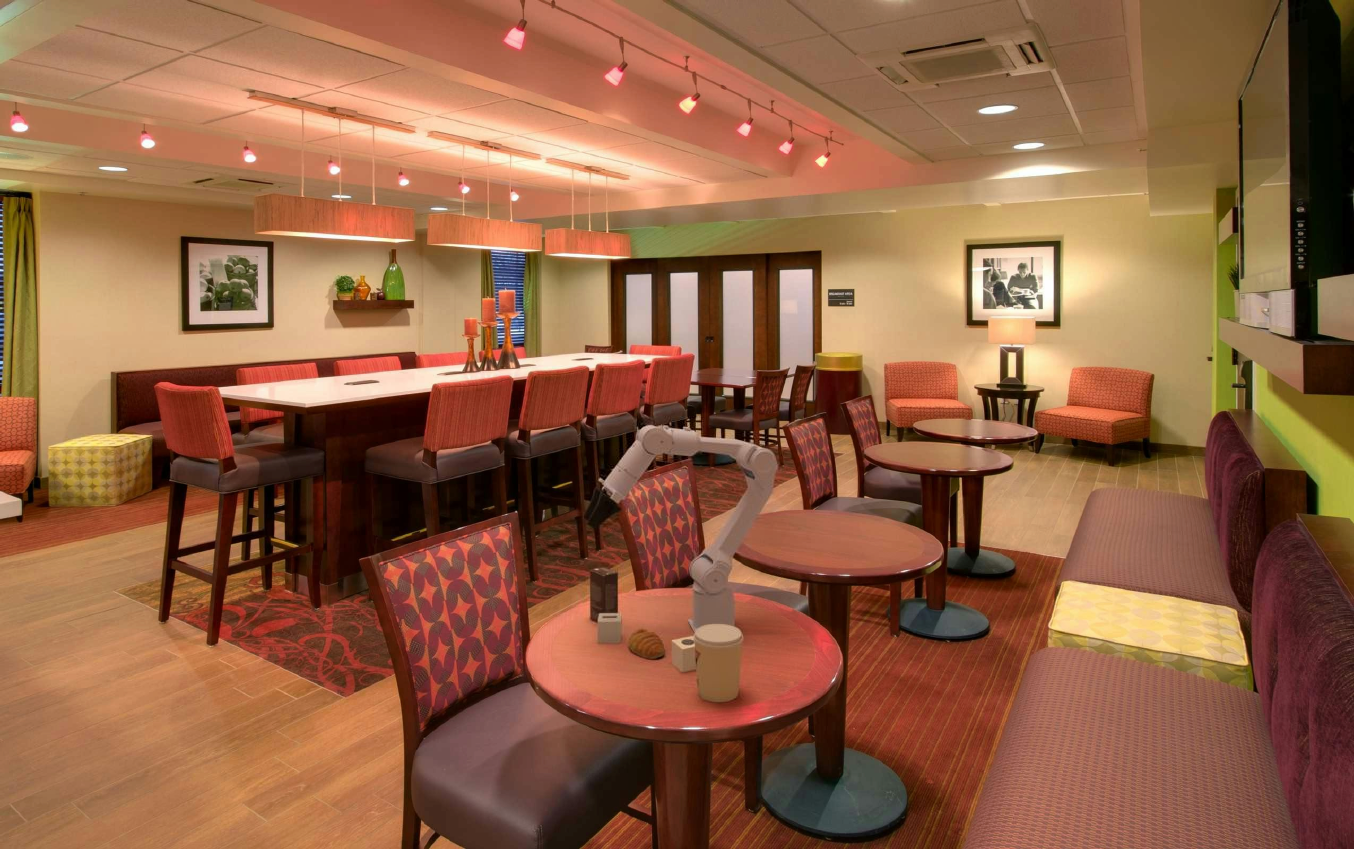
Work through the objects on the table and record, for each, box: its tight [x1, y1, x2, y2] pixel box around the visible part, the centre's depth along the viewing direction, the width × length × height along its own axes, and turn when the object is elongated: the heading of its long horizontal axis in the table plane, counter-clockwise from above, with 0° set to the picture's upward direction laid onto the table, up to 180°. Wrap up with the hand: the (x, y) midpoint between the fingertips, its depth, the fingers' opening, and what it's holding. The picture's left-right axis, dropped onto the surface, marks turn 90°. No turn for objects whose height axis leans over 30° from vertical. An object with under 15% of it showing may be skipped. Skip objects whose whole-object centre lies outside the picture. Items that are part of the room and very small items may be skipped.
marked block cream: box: [671, 635, 696, 673], centre depth 164 cm, size 5×5×5 cm
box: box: [589, 566, 619, 623], centre depth 188 cm, size 6×4×12 cm
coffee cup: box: [693, 624, 744, 703], centre depth 151 cm, size 9×9×12 cm
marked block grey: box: [597, 612, 623, 644], centre depth 177 cm, size 5×5×5 cm
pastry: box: [627, 628, 666, 660], centre depth 170 cm, size 9×7×4 cm
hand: (589, 523), depth 172 cm, fingers open, 7 cm apart
